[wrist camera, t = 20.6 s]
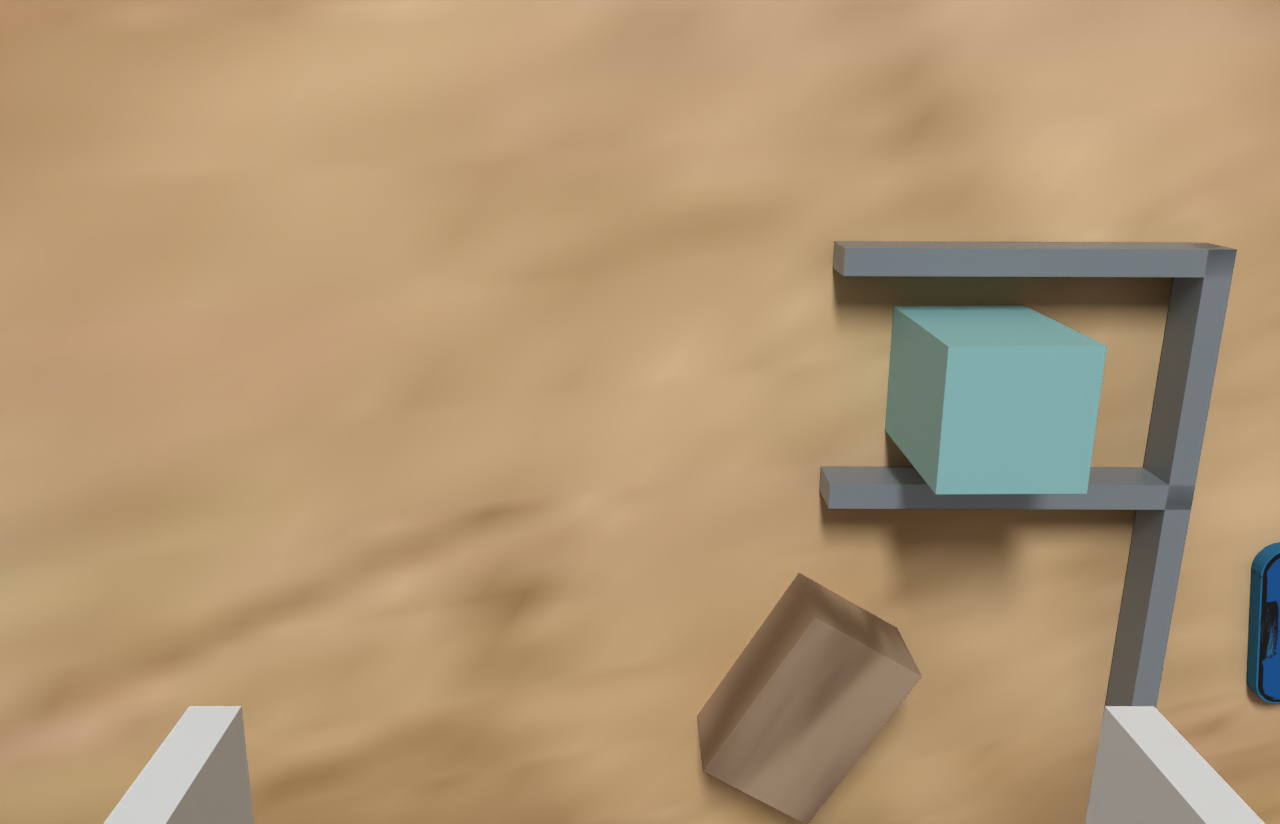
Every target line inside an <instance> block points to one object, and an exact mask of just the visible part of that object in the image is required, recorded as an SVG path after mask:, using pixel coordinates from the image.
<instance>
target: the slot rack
mask: <svg viewBox="0 0 1280 824" xmlns="http://www.w3.org/2000/svg"><path fill="white" fill-rule="evenodd" d="M1236 251H1237V249H1232V248H1227V247H1223V246H1218V245H1214V244H1209V243H1119V242H843V241H834V256H833V269H835V270H836V271H837V272H839V273H840V274H841V275H843V276H957V277H1174V279H1173V285H1172V291H1171V297H1170V304H1169V310H1168V316H1167V322H1166V329H1165V335H1164V341H1163V347H1162V354H1161V360H1160V366H1159V373H1158V379H1157V385H1156V391H1155V398H1154V404H1153V410H1152V416H1151V423H1150V429H1149V435H1148V441H1147V448H1146V454H1145V460H1144V466H1143V468H1090V474H1089V482H1088V489H1087V494H935V493H934V492H933V490H932V489H931V488H930V487H929V485H928V484H927V483H926V482H925V480H924V479H923V478H922V476H921V475H920V474H919V473H918V471H917V470H916V469H915V468H914V467H821V473H820V492H821V494H822V496H823V498H824V500H825V502H826V504H827V506H828V508H829V509H1092V510H1136V516H1135V523H1134V529H1133V535H1132V542H1131V548H1130V554H1129V560H1128V567H1127V573H1126V579H1125V585H1124V592H1123V598H1122V604H1121V610H1120V617H1119V623H1118V629H1117V635H1116V642H1115V648H1114V654H1113V660H1112V667H1111V673H1110V679H1109V685H1108V692H1107V698H1106V704H1105V706H1154V707H1155V708H1156V704H1157V698H1158V692H1159V687H1160V681H1161V675H1162V670H1163V664H1164V658H1165V653H1166V647H1167V641H1168V636H1169V630H1170V625H1171V619H1172V613H1173V608H1174V602H1175V596H1176V591H1177V585H1178V579H1179V574H1180V568H1181V562H1182V557H1183V551H1184V545H1185V540H1186V534H1187V528H1188V523H1189V517H1190V511H1191V506H1192V500H1193V494H1194V489H1195V483H1196V477H1197V472H1198V466H1199V460H1200V455H1201V449H1202V443H1203V438H1204V432H1205V426H1206V421H1207V415H1208V410H1209V404H1210V398H1211V393H1212V387H1213V381H1214V376H1215V370H1216V364H1217V359H1218V353H1219V347H1220V342H1221V336H1222V330H1223V325H1224V319H1225V313H1226V308H1227V302H1228V296H1229V291H1230V285H1231V279H1232V274H1233V268H1234V262H1235V257H1236Z"/></svg>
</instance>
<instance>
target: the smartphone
mask: <svg viewBox="0 0 1280 824" xmlns="http://www.w3.org/2000/svg"><path fill="white" fill-rule="evenodd" d="M1247 682H1248V685H1249V687H1250V688H1251V689H1252V691H1254V692H1255V693H1256V694H1257V695H1258V696H1259V697H1260V698H1261V699H1263V700H1264V701H1266V702H1268V703H1272V704H1280V543H1274V544H1272V545H1269V546H1267V547H1265V548H1264V549H1263V550H1262V551H1261V552H1260V553H1258V555H1257V556H1256V557H1255V559H1254V562H1253V565H1252V574H1251V598H1250V622H1249V646H1248V670H1247Z"/></svg>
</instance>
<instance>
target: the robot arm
mask: <svg viewBox="0 0 1280 824" xmlns="http://www.w3.org/2000/svg"><path fill="white" fill-rule="evenodd" d="M103 824H254V820H253V810H252V801H251V792H250V782H249V773H248V763H247V754H246V744H245V735H244V725H243V716H242V706H189V708H188V709H187V710H186V712H185V713H184V714H183V716H182V717H181V718H180V720H179V721H178V723H177V724H176V725H175V727H174V728H173V729H172V731H171V732H170V733H169V735H168V736H167V738H166V739H165V740H164V742H163V743H162V744H161V746H160V747H159V748H158V750H157V751H156V752H155V754H154V755H153V757H152V758H151V759H150V761H149V762H148V763H147V765H146V766H145V767H144V769H143V770H142V772H141V773H140V774H139V776H138V777H137V778H136V780H135V781H134V782H133V784H132V785H131V787H130V788H129V789H128V791H127V792H126V793H125V795H124V796H123V797H122V799H121V800H120V801H119V803H118V804H117V806H116V807H115V808H114V810H113V811H112V812H111V814H110V815H109V816H108V818H107V819H106V821H105V822H104V823H103ZM1085 824H1265V823H1264V822H1263V821H1262V820H1261V819H1260V818H1259V817H1258V816H1257V815H1256V814H1255V813H1254V812H1253V811H1252V809H1251V808H1250V807H1249V806H1248V805H1247V804H1246V803H1245V802H1244V801H1243V800H1242V799H1241V798H1240V797H1239V796H1238V795H1237V794H1236V793H1235V792H1234V790H1233V789H1232V788H1231V787H1230V786H1229V785H1228V784H1227V783H1226V782H1225V781H1224V780H1223V779H1222V778H1221V777H1220V776H1219V775H1218V774H1217V772H1216V771H1215V770H1214V769H1213V768H1212V767H1211V766H1210V765H1209V764H1208V763H1207V762H1206V761H1205V760H1204V759H1203V758H1202V757H1201V756H1200V755H1199V753H1198V752H1197V751H1196V750H1195V749H1194V748H1193V747H1192V746H1191V745H1190V744H1189V743H1188V742H1187V741H1186V740H1185V739H1184V738H1183V737H1182V736H1181V734H1180V733H1179V732H1178V731H1177V730H1176V729H1175V728H1174V727H1173V726H1172V725H1171V724H1170V723H1169V722H1168V721H1167V720H1166V719H1165V718H1164V716H1163V715H1162V714H1161V713H1160V712H1159V711H1158V710H1157V709H1156V708H1155V707H1154V706H1105V708H1104V714H1103V720H1102V726H1101V732H1100V738H1099V744H1098V750H1097V756H1096V762H1095V768H1094V774H1093V780H1092V786H1091V791H1090V797H1089V803H1088V809H1087V815H1086V821H1085Z"/></svg>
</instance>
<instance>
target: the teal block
mask: <svg viewBox="0 0 1280 824" xmlns="http://www.w3.org/2000/svg"><path fill="white" fill-rule="evenodd" d="M1106 348H1107V346H1106V345H1104V344H1102V343H1100V342H1098V341H1096V340H1094V339H1092V338H1090V337H1088V336H1086V335H1084V334H1081V333H1079V332H1077V331H1075V330H1073V329H1071V328H1069V327H1067V326H1065V325H1063V324H1061V323H1059V322H1057V321H1055V320H1053V319H1051V318H1049V317H1047V316H1044V315H1042V314H1040V313H1038V312H1036V311H1034V310H1032V309H1030V308H1028V307H1026V306H1024V305H1009V306H894V307H893V322H892V336H891V351H890V365H889V379H888V394H887V408H886V423H885V431H886V432H887V433H888V435H889V436H890V437H891V438H892V440H893V441H894V442H895V443H896V445H897V446H898V447H899V449H900V450H901V451H902V452H903V454H904V455H905V456H906V457H907V459H908V460H909V461H910V462H911V464H912V465H913V466H914V468H915V469H916V470H917V471H918V473H919V474H920V475H921V476H922V478H923V479H924V480H925V482H926V483H927V484H928V485H929V487H930V488H931V489H932V490H933V492H934V493H935V494H1087V489H1088V482H1089V474H1090V467H1091V460H1092V452H1093V445H1094V437H1095V430H1096V422H1097V415H1098V407H1099V400H1100V393H1101V385H1102V378H1103V370H1104V363H1105V355H1106Z"/></svg>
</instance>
